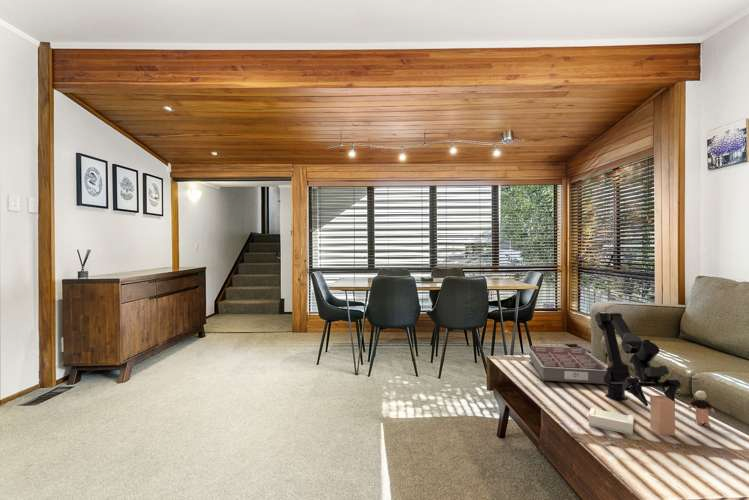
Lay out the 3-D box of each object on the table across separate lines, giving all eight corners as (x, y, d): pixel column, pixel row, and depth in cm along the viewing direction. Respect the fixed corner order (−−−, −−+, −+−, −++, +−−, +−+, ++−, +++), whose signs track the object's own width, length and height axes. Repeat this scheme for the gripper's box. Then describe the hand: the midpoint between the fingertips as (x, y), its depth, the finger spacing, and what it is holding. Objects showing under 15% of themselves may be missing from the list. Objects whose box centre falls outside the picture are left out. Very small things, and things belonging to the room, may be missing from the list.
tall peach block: (650, 427, 148) (650, 395, 148) (664, 428, 147) (664, 395, 147) (660, 434, 142) (659, 401, 142) (675, 435, 141) (674, 401, 141)
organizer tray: (542, 383, 198) (542, 363, 198) (528, 361, 237) (528, 345, 237) (612, 387, 191) (612, 367, 191) (586, 364, 230) (586, 347, 230)
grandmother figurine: (710, 423, 151) (710, 390, 151) (715, 427, 147) (715, 393, 147) (686, 420, 153) (686, 388, 153) (691, 424, 150) (690, 391, 150)
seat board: (593, 411, 163) (593, 401, 163) (633, 419, 155) (633, 409, 155) (588, 425, 149) (588, 414, 149) (632, 435, 141) (632, 424, 141)
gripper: (625, 356, 152) (641, 395, 141) (677, 358, 150) (698, 397, 139) (615, 371, 160) (630, 409, 149) (665, 372, 158) (684, 411, 146)
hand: (660, 406), depth 145 cm, fingers open, 9 cm apart
